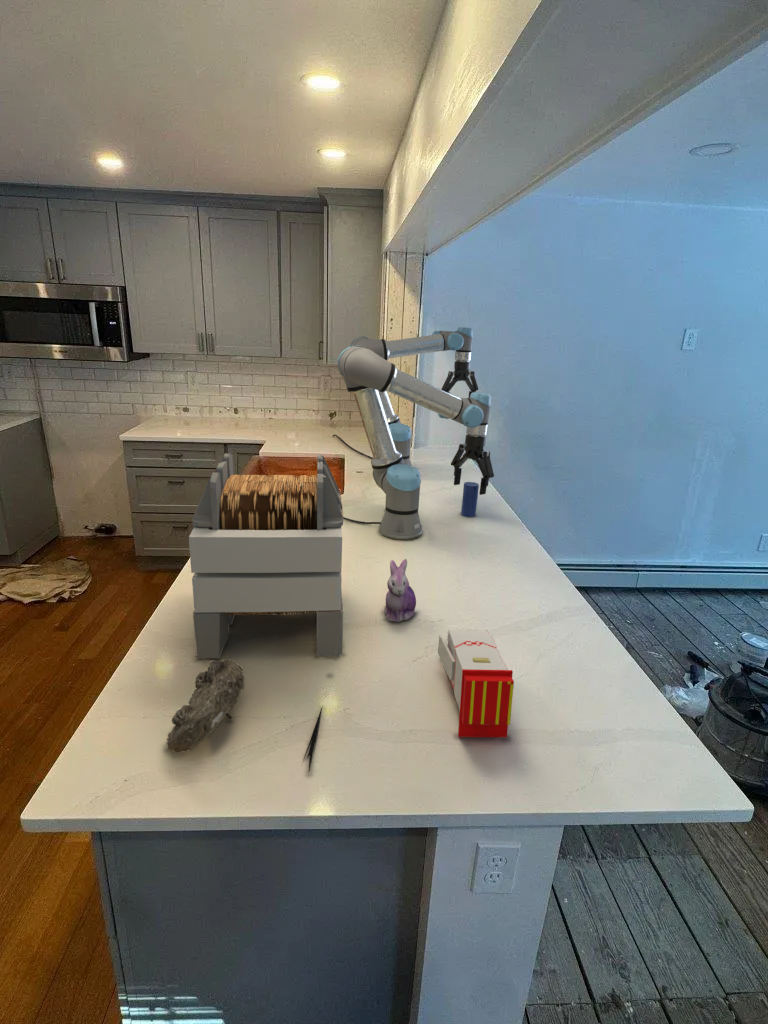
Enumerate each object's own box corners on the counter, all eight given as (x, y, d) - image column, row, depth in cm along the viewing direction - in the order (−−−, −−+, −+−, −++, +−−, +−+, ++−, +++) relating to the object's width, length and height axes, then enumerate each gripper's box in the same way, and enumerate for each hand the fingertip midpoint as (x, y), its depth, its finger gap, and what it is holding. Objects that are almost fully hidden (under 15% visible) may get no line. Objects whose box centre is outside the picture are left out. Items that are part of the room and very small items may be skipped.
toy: (488, 613, 130) (523, 677, 101) (484, 667, 133) (517, 744, 104) (435, 612, 130) (455, 676, 101) (432, 666, 133) (451, 743, 103)
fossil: (192, 660, 117) (244, 628, 112) (224, 691, 120) (276, 661, 115) (142, 746, 98) (202, 712, 93) (182, 779, 101) (242, 748, 96)
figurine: (392, 627, 141) (395, 572, 136) (374, 608, 149) (376, 556, 144) (425, 619, 145) (429, 566, 140) (405, 601, 154) (408, 550, 149)
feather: (331, 679, 122) (336, 673, 122) (307, 777, 96) (313, 769, 95) (324, 675, 122) (329, 669, 121) (298, 772, 95) (304, 764, 95)
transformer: (219, 588, 156) (210, 443, 142) (338, 587, 160) (340, 446, 146) (193, 661, 124) (179, 483, 110) (343, 657, 128) (346, 485, 114)
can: (478, 515, 222) (481, 484, 218) (470, 518, 218) (473, 487, 214) (466, 511, 226) (469, 481, 221) (458, 514, 222) (460, 483, 217)
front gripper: (508, 441, 204) (500, 497, 211) (459, 427, 222) (453, 479, 229) (494, 442, 200) (486, 499, 207) (445, 429, 218) (439, 481, 225)
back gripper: (444, 361, 264) (441, 407, 272) (488, 361, 275) (483, 405, 283) (436, 360, 271) (433, 404, 278) (479, 360, 282) (475, 403, 289)
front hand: (469, 489), depth 218 cm, fingers open, 13 cm apart
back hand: (458, 405), depth 280 cm, fingers open, 13 cm apart
